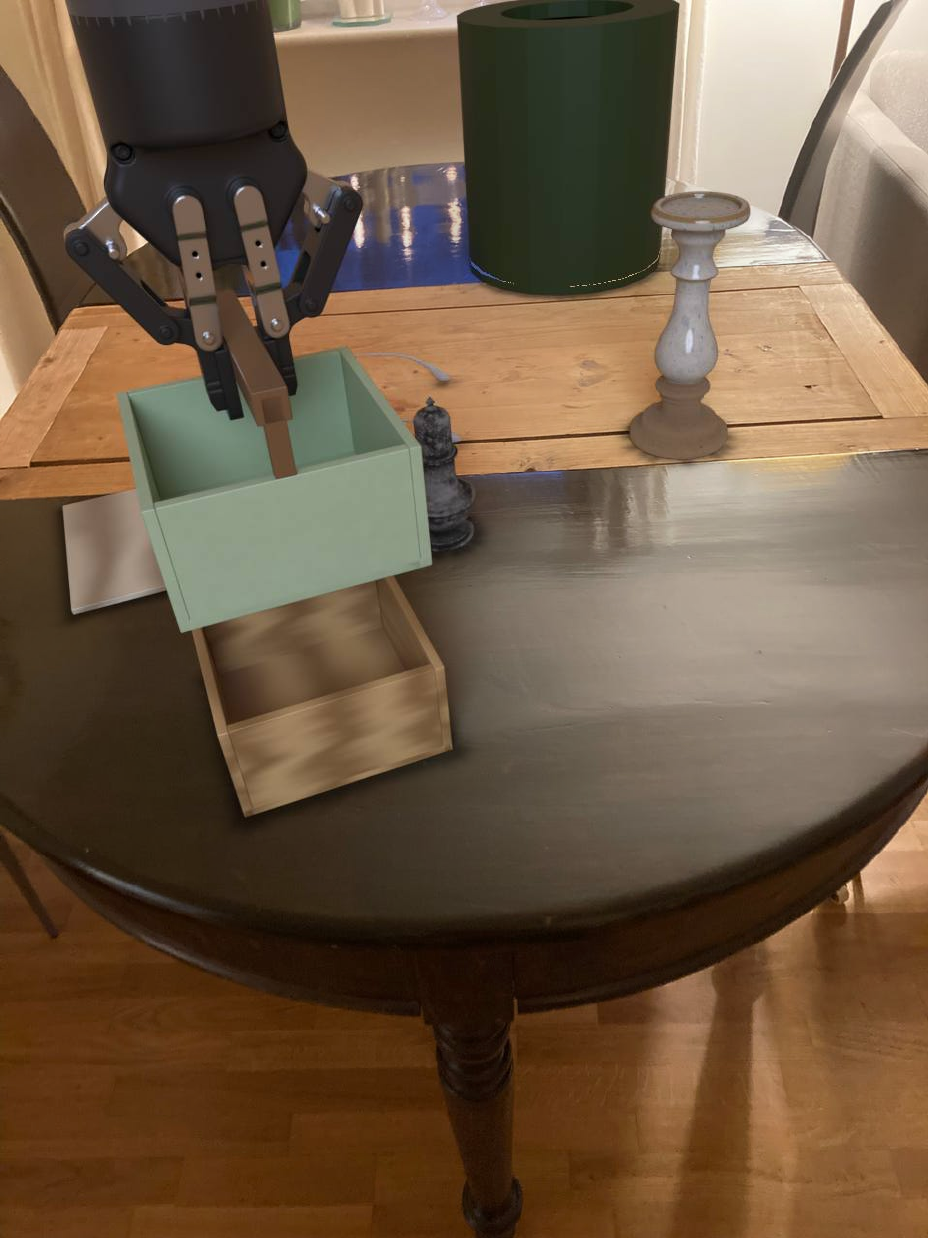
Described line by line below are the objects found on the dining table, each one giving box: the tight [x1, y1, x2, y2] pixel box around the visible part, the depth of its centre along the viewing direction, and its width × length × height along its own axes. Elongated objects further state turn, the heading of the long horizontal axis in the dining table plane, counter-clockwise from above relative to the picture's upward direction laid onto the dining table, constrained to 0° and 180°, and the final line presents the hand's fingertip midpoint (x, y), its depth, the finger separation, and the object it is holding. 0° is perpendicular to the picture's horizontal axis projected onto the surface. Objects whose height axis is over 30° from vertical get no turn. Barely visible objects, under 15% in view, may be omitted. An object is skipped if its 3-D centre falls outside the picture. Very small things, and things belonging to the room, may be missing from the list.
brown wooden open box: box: [191, 575, 454, 818], centre depth 58 cm, size 13×13×7 cm
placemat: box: [62, 488, 167, 615], centre depth 77 cm, size 16×16×1 cm
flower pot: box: [456, 0, 681, 296], centre depth 114 cm, size 25×25×28 cm
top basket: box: [115, 289, 433, 634], centre depth 47 cm, size 13×13×11 cm
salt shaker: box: [412, 396, 477, 552], centre depth 71 cm, size 6×6×12 cm
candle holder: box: [629, 190, 752, 460], centre depth 78 cm, size 9×9×20 cm
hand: (256, 406), depth 46 cm, fingers closed on top basket
